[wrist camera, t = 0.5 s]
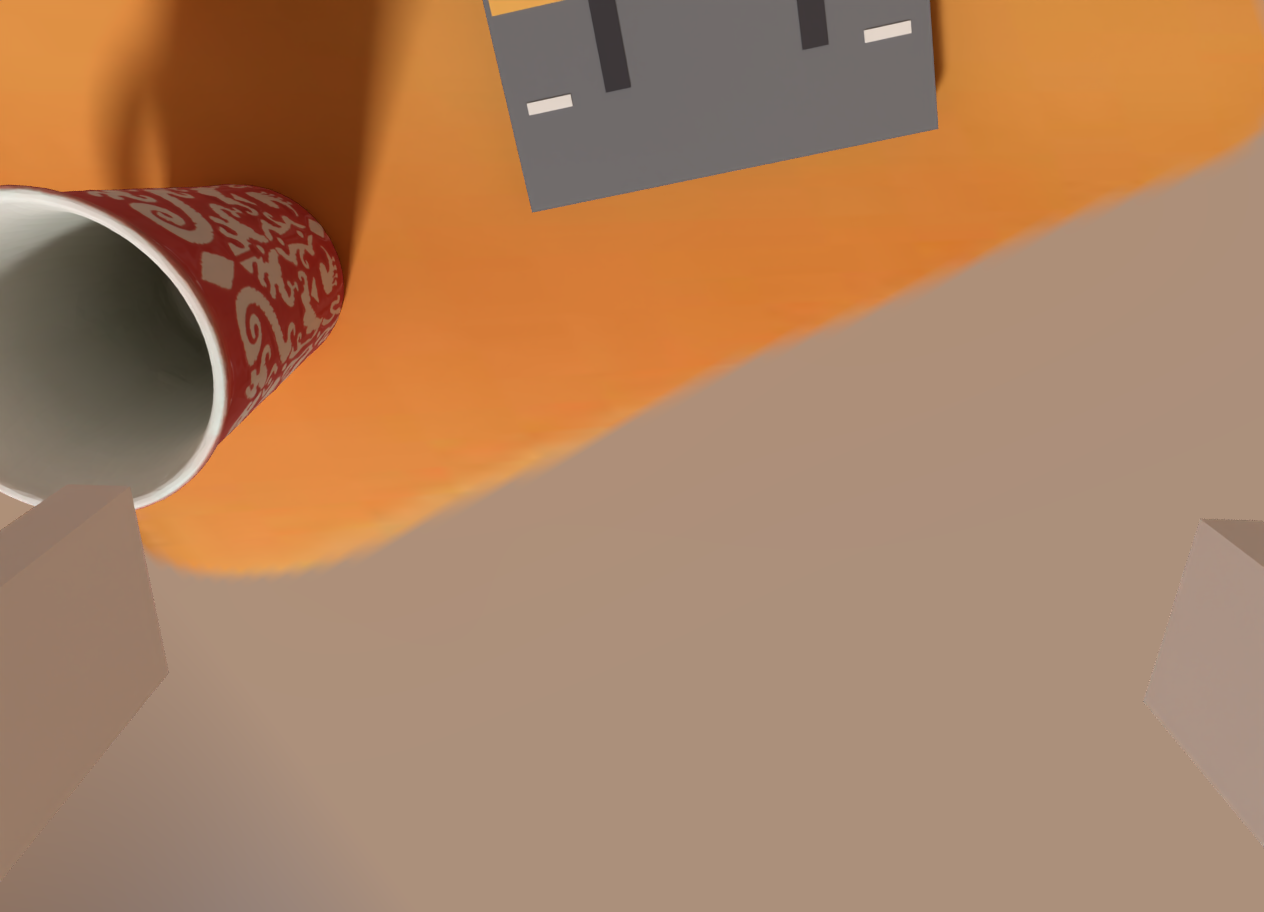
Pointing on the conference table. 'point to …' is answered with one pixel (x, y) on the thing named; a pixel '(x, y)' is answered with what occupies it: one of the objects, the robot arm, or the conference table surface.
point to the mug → (148, 328)
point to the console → (702, 86)
